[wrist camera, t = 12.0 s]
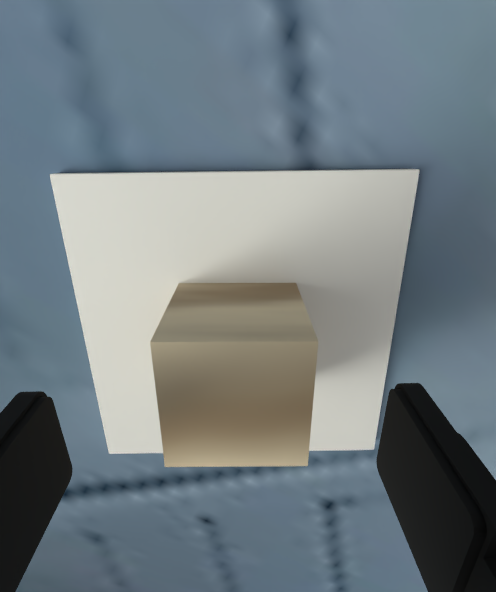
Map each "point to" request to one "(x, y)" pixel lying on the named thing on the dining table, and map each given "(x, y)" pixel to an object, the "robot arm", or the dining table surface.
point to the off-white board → (238, 277)
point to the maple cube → (235, 375)
